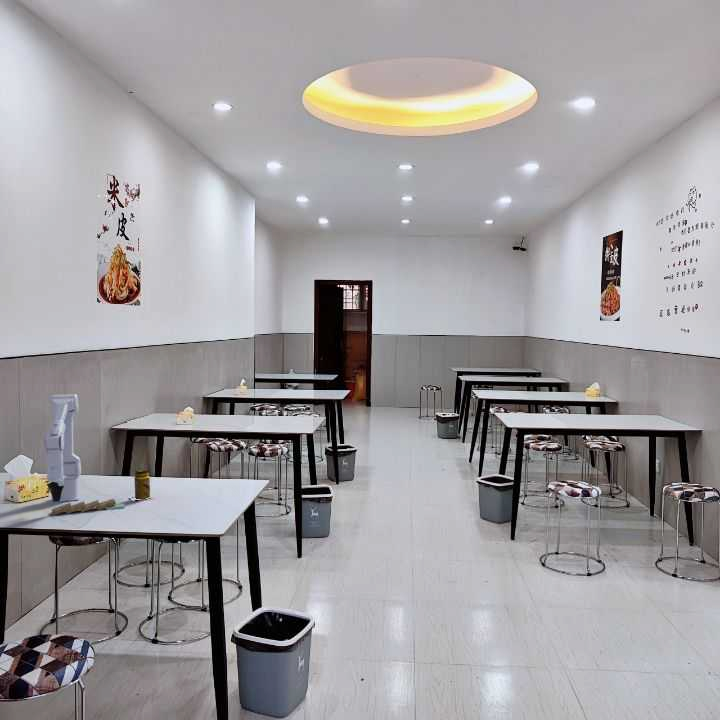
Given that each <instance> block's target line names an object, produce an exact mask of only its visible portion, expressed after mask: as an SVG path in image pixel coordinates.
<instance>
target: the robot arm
mask: <svg viewBox="0 0 720 720" xmlns="http://www.w3.org/2000/svg"><path fill="white" fill-rule="evenodd" d="M50 407H51V409H52V411H53V413H54V418H53V421H52V422H50V424H49V428H48V432H47V436H45V437H44V439H43V447H44V452H45V454H44V455H45V456H46V468H47V469H46V481H47V482H48V483H46V486H47V487H48V489H49V491H50V494H51V498H52V502H58V503H59V502H69V501H70V502H72V501H79V500H80V495H81V494H80V493H79V482H78V477H80V476H81V474H82V462H81V458H80V457H79V456H78V455H76V454H75V453H74V417H75V415H76V414H78V413H79V396H78V395H77V393H72V394H70V393H69V394H68V393H67V394H52V396H51V398H50Z"/></svg>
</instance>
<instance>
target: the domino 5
mask: <svg viewBox="0 0 720 720" xmlns="http://www.w3.org/2000/svg"><path fill="white" fill-rule="evenodd" d="M123 507H125V503H123V502H122V503H116V504H115V505H112V506H109V507H106V508H105V510H106V509H112V510H117V509H116V508H121V509H124V508H123ZM125 508H126V507H125Z"/></svg>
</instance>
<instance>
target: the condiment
mask: <svg viewBox="0 0 720 720" xmlns="http://www.w3.org/2000/svg"><path fill="white" fill-rule="evenodd" d="M134 472H135V474H134V475H135V476H134V497H135V498H136V499H146V498H149V497H151V485H150V483H151V481H150V475H149V474H150V473H149V469H147V468H140V469H136V470H135V471H134Z"/></svg>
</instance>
